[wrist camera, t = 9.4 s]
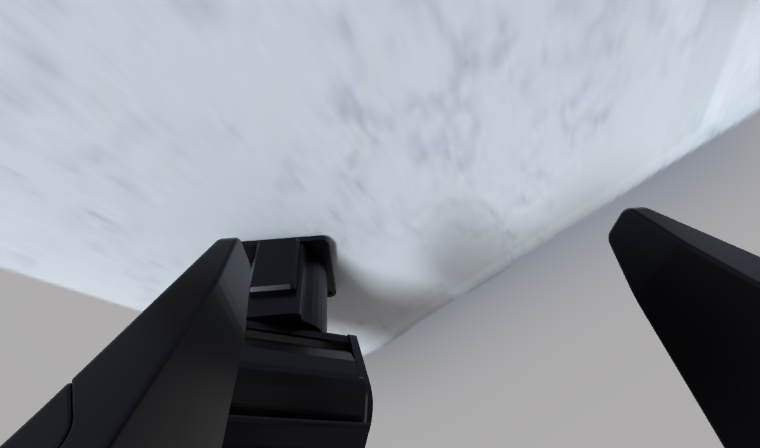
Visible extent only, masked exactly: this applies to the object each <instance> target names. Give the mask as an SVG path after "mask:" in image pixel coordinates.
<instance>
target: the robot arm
mask: <svg viewBox="0 0 760 448" xmlns="http://www.w3.org/2000/svg"><path fill="white" fill-rule="evenodd" d="M320 242H323V243H320ZM609 243H610V245H611V247H612V250H613V252H614V254H615V256H616V258H617V260H618V262H619V265H620V267H621V269H622V271H623V273H624V275H625V278H626V280H627V282H628V284H629V286H630V288H631V290H632V292H633V294H634V296H635V298H636V300H637V302H638V303H639V305H640V307H641V308H642V310H643V312H644V314H645V315H646V317H647V319H648V320H649V322H650V324H651V325H652V327H653V329H654V330H655V332H656V334H657V335H658V337H659V339H660V340H661V342H662V344H663V345H664V347H665V349H666V351H667V352H668V354H669V356H670V357H671V359H672V361H673V362H674V364H675V366H676V367H677V369H678V370H679V372H680V374H681V376H682V377H683V379H684V381H685V382H686V384H687V386H688V387H689V389H690V391H691V392H692V394H693V396H694V398H695V399H696V401H697V402H698V404H699V406H700V407H701V409H702V411H703V413H704V414H705V416H706V417H707V419H708V421H709V423H710V424H711V426H712V428H713V429H714V431H715V433H716V434H717V436H718V438H719V439H720V441H721V443H722V445H723V446H724V448H760V257H759V256H756V255H754V254H752V253H749V252H747V251H745V250H743V249H740V248H738V247H736V246H733V245H731V244H729V243H726V242H724V241H722V240H720V239H717V238H715V237H713V236H710V235H708V234H706V233H704V232H701V231H699V230H697V229H694V228H692V227H690V226H687V225H685V224H683V223H680V222H678V221H676V220H674V219H671V218H669V217H667V216H664V215H662V214H660V213H657V212H655V211H653V210H651V209H648V208H644V207H637V208H628V209H625V210H624V211H623V212H622V213H621V215H620V216H619V218H618V219H617V221H616V223H615V224H614V226H613V228H612V230H611V231H610V233H609ZM335 294H336V286H335V279H334V272H333V265H332V258H331V251H330V245H329V239H328V238H327V237H325V236H311V237H298V238H285V239H272V240H259V241H246V242H241V241H240V239H238V238H225V239H219V240H218V241H216V242H215V243H214V244H213V245H212V246H211V247H210V248H209V249H208V250H207V251H206V252H205V253H204V254H203V255H202V256H201V257H200V258H199V259H198V260H196V261H195V262H194V263H193V264H192V265H191V266H190V267H189V268H188V269H187V270H186V271H185V272H184V273H183V274H182V275H181V276H180V277H179V278H178V279H177V280H176V281H175V282H173V283H172V284H171V285H170V286H169V287H168V288H167V289H166V290H165V291H164V292H163V293H162V294H161V295H160V296H159V297H158V298H157V299H156V300H155V301H154V302H153V303H152V304H150V305H149V306H148V307H147V308H146V309H145V310H144V311H143V312H142V313H141V314H140V315H139V316H138V317H137V318H136V319H135V320H134V321H133V322H132V323H131V324H130V325H129V326H127V327H126V328H125V329H124V330H123V331H122V332H121V333H120V334H119V335H118V336H117V337H116V338H115V339H114V340H113V341H112V342H111V343H110V344H109V345H108V346H107V347H106V348H105V349H104V350H102V352H100V353H99V354H98V355H97V356H96V357H95V358H94V359H93V360H92V361H91V362H90V363H89V364H88V365H87V366H86V367H85V368H84V369H83V370H82V371H81V372H79V373H78V374H77V375H76V376H75V377H74V378H73V380H72V383H69V384H67V385H66V386H65V387H64V388H63V389H61V390H60V391H59V393H57V394H56V395H55V396H54V397H53V398H52V399H51V400H50V401H49V402H48V403H47V404H46V405H45V406H44V407H43V408H41V409H40V410H39V411H38V412H37V413H36V414H35V415H34V416H33V417H32V418H31V419H30V420H28V421H27V422H26V424H24V425H23V426H22V427H21V428H20V429H19V430H18V431H17V432H16V433H15V434H13V435H12V436H11V437H10V438H9V439H8V440H7V441H6V442H5V443H3V444H2V445H1V446H0V448H365V445H366V441H367V437H368V433H369V430H370V425H371V420H372V411H373V399H372V391H371V385H370V382H369V378H368V375H367V371H366V368H365V364H364V361H363V357H362V354H361V350H360V347H359V343H358V340H357V336H354V335H347V336H345V335H339V334H333V333H327V297H332V296H334V295H335Z"/></svg>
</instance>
